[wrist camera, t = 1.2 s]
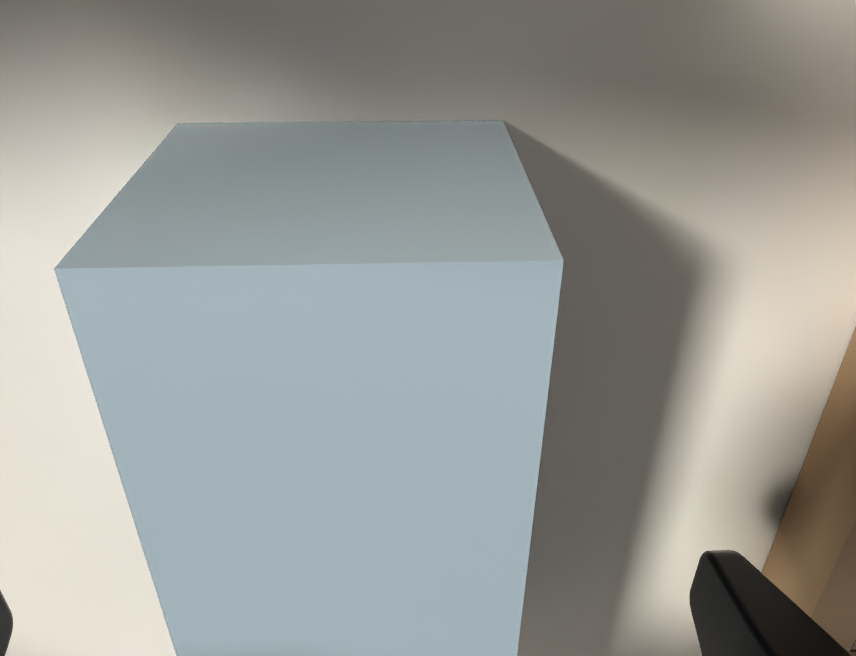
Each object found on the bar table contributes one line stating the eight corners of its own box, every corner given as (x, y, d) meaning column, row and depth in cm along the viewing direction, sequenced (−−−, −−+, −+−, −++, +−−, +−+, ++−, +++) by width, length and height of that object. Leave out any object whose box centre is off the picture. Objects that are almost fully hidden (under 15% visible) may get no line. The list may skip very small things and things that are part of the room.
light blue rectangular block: (472, 609, 14) (496, 834, 11) (273, 616, 14) (236, 845, 11) (501, 115, 9) (563, 260, 6) (182, 117, 9) (54, 270, 6)
